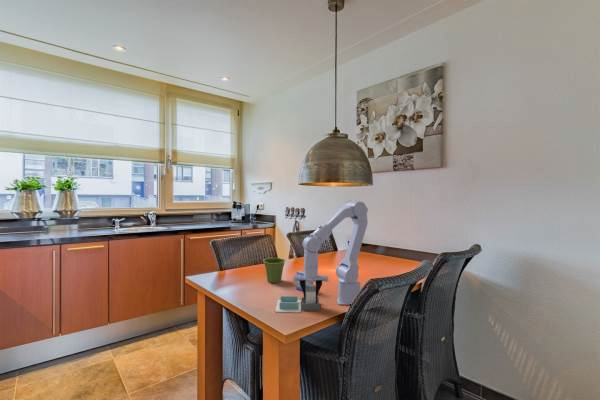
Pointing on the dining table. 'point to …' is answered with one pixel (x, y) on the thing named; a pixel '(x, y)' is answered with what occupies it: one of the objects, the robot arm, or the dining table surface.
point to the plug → (311, 294)
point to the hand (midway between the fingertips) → (310, 298)
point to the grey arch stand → (310, 305)
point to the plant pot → (274, 269)
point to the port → (289, 304)
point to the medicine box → (299, 281)
